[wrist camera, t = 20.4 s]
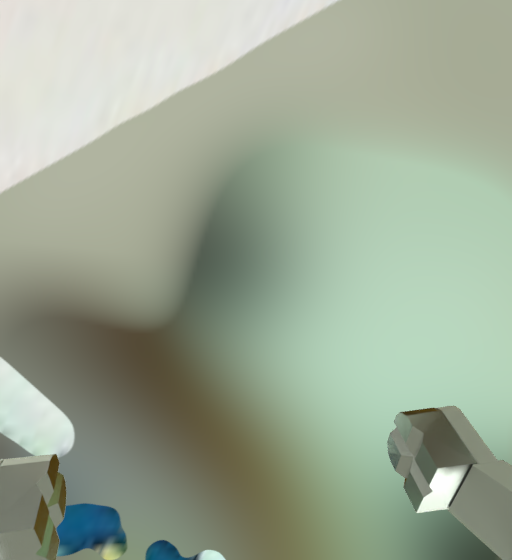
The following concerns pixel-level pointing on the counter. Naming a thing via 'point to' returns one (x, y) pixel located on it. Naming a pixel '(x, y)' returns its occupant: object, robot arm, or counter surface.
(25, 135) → the counter surface
